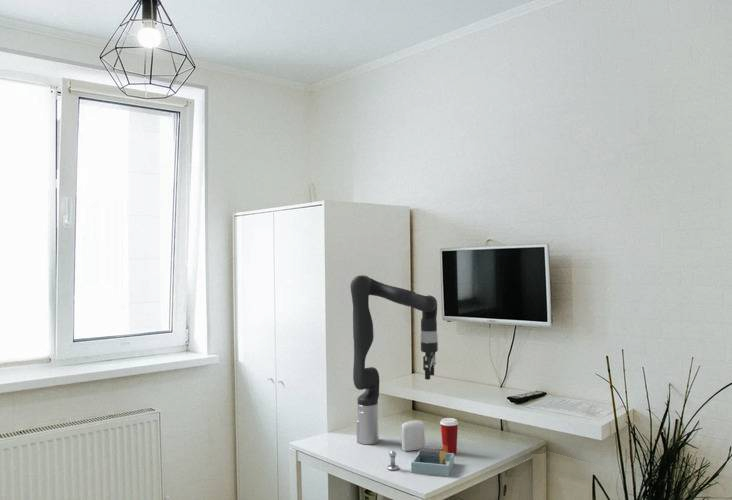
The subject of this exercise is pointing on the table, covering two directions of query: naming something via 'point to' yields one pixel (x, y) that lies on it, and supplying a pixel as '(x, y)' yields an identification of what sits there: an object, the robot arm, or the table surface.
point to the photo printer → (412, 435)
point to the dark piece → (432, 456)
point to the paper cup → (449, 434)
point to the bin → (433, 466)
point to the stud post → (392, 462)
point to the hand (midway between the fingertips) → (429, 377)
